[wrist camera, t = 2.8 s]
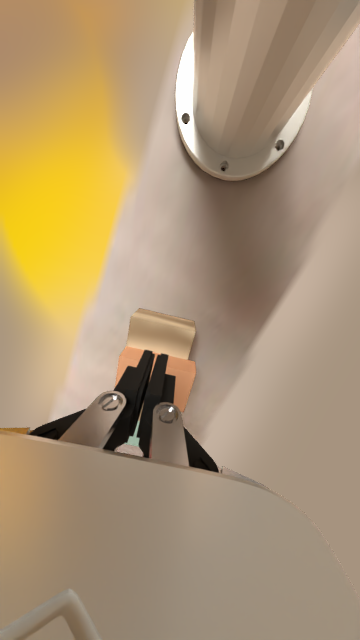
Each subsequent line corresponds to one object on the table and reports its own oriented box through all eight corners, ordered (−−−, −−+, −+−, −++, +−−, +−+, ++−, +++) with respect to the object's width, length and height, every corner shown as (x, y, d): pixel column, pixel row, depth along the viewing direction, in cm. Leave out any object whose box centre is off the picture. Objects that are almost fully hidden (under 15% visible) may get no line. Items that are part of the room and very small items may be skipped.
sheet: (139, 308, 25) (130, 316, 21) (194, 321, 25) (195, 332, 21) (124, 396, 30) (115, 415, 26) (170, 405, 30) (168, 426, 26)
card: (126, 346, 22) (119, 356, 20) (195, 361, 23) (195, 373, 20) (120, 383, 24) (113, 397, 22) (183, 397, 25) (183, 412, 22)
